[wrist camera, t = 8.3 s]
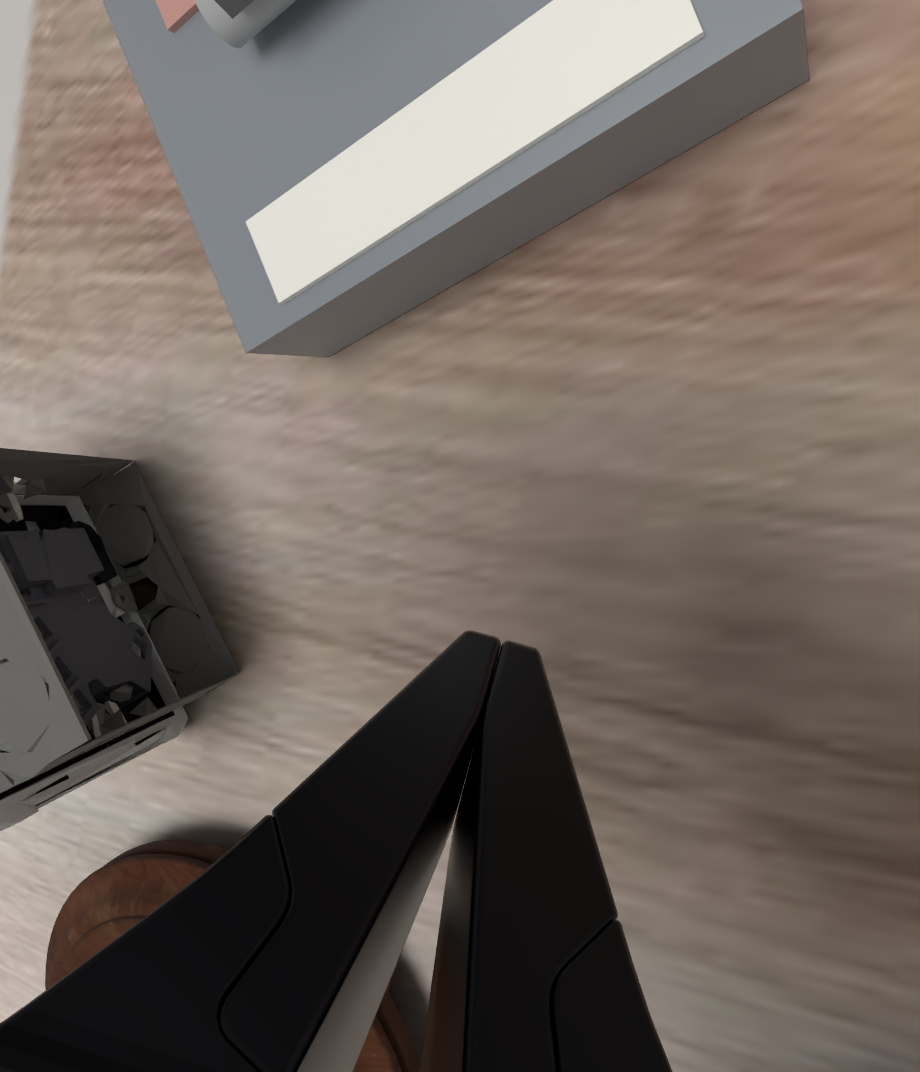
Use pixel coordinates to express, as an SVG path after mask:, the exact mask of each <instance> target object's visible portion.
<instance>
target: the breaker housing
mask: <svg viewBox="0 0 920 1072" xmlns="http://www.w3.org/2000/svg"><path fill="white" fill-rule="evenodd" d="M103 3H104V6H105V8H106V11H107V13H108V16H109V18H110V20H111V23H112V25H113V28H114V30H115V33H116V35H117V38H118V40H119V43H120V45H121V47H122V50H123V52H124V55H125V57H126V60H127V62H128V65H129V67H130V70H131V72H132V74H133V77H134V79H135V82H136V84H137V87H138V89H139V92H140V94H141V97H142V99H143V102H144V104H145V106H146V109H147V111H148V114H149V116H150V119H151V121H152V124H153V126H154V129H155V131H156V133H157V136H158V138H159V141H160V143H161V146H162V148H163V151H164V153H165V156H166V158H167V160H168V163H169V165H170V168H171V170H172V173H173V175H174V178H175V180H176V183H177V185H178V187H179V190H180V192H181V195H182V197H183V200H184V202H185V205H186V207H187V210H188V212H189V215H190V217H191V219H192V222H193V224H194V227H195V229H196V232H197V234H198V237H199V239H200V242H201V244H202V246H203V249H204V251H205V254H206V256H207V259H208V261H209V264H210V266H211V269H212V271H213V273H214V276H215V278H216V281H217V283H218V286H219V288H220V291H221V293H222V296H223V298H224V300H225V303H226V305H227V308H228V310H229V313H230V315H231V318H232V320H233V323H234V325H235V328H236V330H237V332H238V335H239V337H240V340H241V342H242V345H243V347H244V350H245V352H246V353H256V354H276V355H295V356H315V357H330V356H331V355H333V354H335V353H337V352H338V351H340V350H342V349H344V348H345V347H347V346H349V345H350V344H352V343H354V342H356V341H357V340H359V339H361V338H363V337H364V336H366V335H368V334H370V333H371V332H373V331H375V330H376V329H378V328H380V327H382V326H383V325H385V324H387V323H389V322H390V321H392V320H394V319H395V318H397V317H399V316H401V315H402V314H404V313H406V312H408V311H409V310H411V309H413V308H415V307H416V306H418V305H420V304H421V303H423V302H425V301H427V300H428V299H430V298H432V297H434V296H435V295H437V294H439V293H441V292H442V291H444V290H446V289H447V288H449V287H451V286H453V285H454V284H456V283H458V282H460V281H461V280H463V279H465V278H467V277H468V276H470V275H472V274H473V273H475V272H477V271H479V270H480V269H482V268H484V267H486V266H487V265H489V264H491V263H492V262H494V261H496V260H498V259H499V258H501V257H503V256H505V255H506V254H508V253H510V252H512V251H513V250H515V249H517V248H518V247H520V246H522V245H524V244H525V243H527V242H529V241H531V240H532V239H534V238H536V237H538V236H539V235H541V234H543V233H544V232H546V231H548V230H550V229H551V228H553V227H555V226H557V225H558V224H560V223H562V222H563V221H565V220H567V219H569V218H570V217H572V216H574V215H576V214H577V213H579V212H581V211H583V210H584V209H586V208H588V207H589V206H591V205H593V204H595V203H596V202H598V201H600V200H602V199H603V198H605V197H607V196H609V195H610V194H612V193H614V192H615V191H617V190H619V189H621V188H622V187H624V186H626V185H628V184H629V183H631V182H633V181H635V180H636V179H638V178H640V177H641V176H643V175H645V174H647V173H648V172H650V171H652V170H654V169H655V168H657V167H659V166H660V165H662V164H664V163H666V162H667V161H669V160H671V159H673V158H674V157H676V156H678V155H680V154H681V153H683V152H685V151H686V150H688V149H690V148H692V147H693V146H695V145H697V144H699V143H700V142H702V141H704V140H706V139H707V138H709V137H711V136H712V135H714V134H716V133H718V132H719V131H721V130H723V129H725V128H726V127H728V126H730V125H731V124H733V123H735V122H737V121H738V120H740V119H742V118H744V117H745V116H747V115H749V114H751V113H752V112H754V111H756V110H757V109H759V108H761V107H763V106H764V105H766V104H768V103H770V102H771V101H773V100H775V99H777V98H778V97H780V96H782V95H783V94H785V93H787V92H789V91H790V90H792V89H794V88H796V87H797V86H799V85H801V84H802V83H804V82H806V81H808V80H809V79H810V77H809V66H808V54H807V43H806V32H805V21H804V10H803V6H802V4H801V2H800V0H296V1H295V2H294V3H293V4H292V5H290V6H289V7H288V8H287V9H286V10H285V11H283V12H282V13H281V14H280V15H279V16H278V17H276V18H275V19H274V20H273V21H272V22H271V23H269V24H268V25H267V26H266V27H265V28H264V29H262V30H261V31H260V32H259V33H258V34H257V35H255V36H254V37H253V38H252V39H251V40H250V41H248V42H247V43H246V44H245V45H244V46H243V47H241V48H235V47H232V46H230V45H229V44H227V43H226V42H225V41H224V40H222V39H221V38H220V37H219V36H218V35H217V34H216V33H215V32H214V30H213V29H212V28H211V27H210V26H209V24H208V23H207V21H206V20H205V19H204V17H203V16H202V14H201V12H200V10H199V9H198V7H197V5H196V2H195V0H104V1H103Z"/></svg>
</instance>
